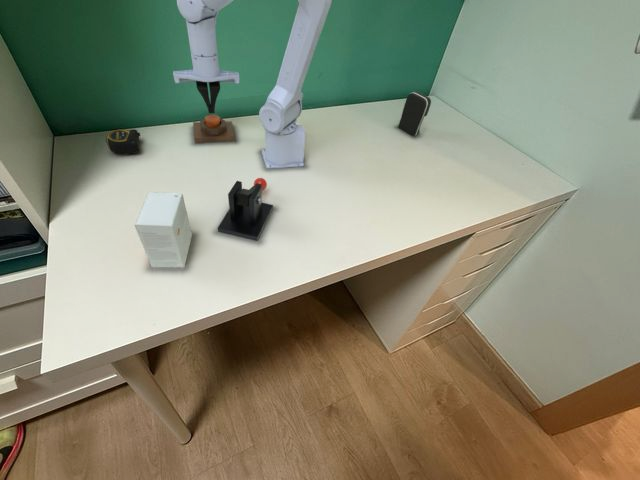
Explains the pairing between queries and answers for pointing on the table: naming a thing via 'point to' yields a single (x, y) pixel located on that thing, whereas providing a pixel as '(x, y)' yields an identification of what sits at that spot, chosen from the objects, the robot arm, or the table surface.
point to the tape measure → (123, 141)
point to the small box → (164, 229)
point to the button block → (213, 132)
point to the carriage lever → (250, 192)
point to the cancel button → (212, 120)
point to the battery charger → (414, 112)
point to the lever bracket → (245, 215)
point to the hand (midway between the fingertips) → (211, 111)
